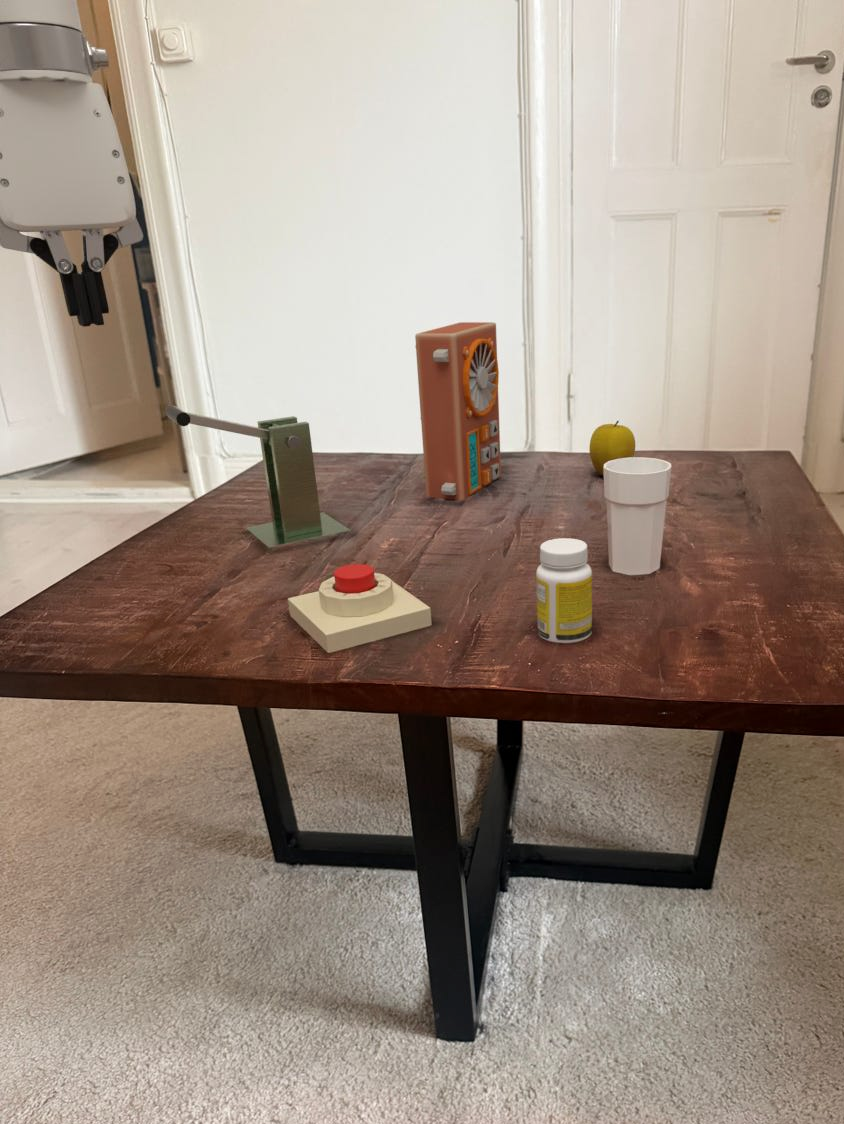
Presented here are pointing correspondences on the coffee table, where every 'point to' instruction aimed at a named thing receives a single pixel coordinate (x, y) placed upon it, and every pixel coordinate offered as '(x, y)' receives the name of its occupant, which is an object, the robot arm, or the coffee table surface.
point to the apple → (610, 445)
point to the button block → (358, 614)
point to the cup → (636, 512)
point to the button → (354, 579)
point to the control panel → (459, 408)
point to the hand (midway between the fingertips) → (91, 324)
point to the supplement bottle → (564, 591)
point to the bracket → (291, 486)
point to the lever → (216, 423)
